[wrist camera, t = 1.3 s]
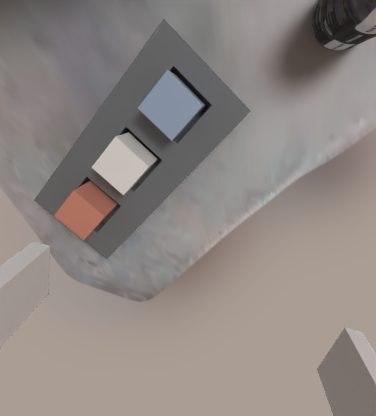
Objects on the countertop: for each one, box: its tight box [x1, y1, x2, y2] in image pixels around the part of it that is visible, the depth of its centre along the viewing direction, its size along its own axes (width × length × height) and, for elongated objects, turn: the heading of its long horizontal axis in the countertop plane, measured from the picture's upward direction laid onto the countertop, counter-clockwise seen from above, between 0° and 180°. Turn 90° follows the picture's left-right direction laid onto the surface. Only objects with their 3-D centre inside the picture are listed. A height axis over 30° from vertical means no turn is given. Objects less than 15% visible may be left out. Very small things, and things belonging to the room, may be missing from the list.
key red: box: [54, 181, 117, 240], centre depth 32 cm, size 4×4×4 cm
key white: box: [92, 132, 157, 195], centre depth 29 cm, size 4×4×4 cm
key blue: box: [138, 70, 205, 141], centre depth 26 cm, size 4×4×4 cm
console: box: [34, 19, 250, 259], centre depth 32 cm, size 12×26×4 cm, turn 137°
